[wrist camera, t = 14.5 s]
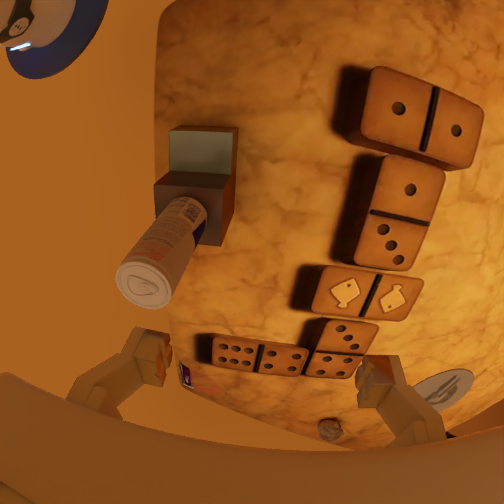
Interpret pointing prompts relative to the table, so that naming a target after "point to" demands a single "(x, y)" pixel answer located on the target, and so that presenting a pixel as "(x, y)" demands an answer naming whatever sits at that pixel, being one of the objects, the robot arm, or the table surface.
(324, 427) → the seashell
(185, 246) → the beverage can
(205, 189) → the stand
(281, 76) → the table surface
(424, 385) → the plate
